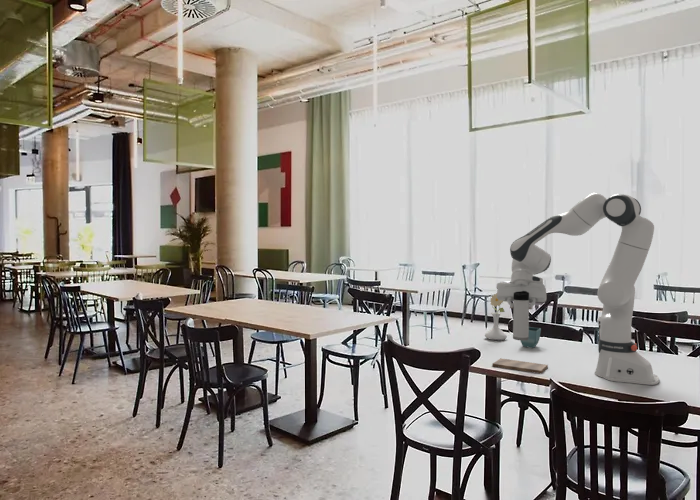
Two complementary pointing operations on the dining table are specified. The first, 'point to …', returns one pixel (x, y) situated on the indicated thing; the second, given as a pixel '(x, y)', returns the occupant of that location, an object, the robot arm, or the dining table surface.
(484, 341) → the dining table surface
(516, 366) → the walnut board
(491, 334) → the flower in vase
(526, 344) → the flower pot
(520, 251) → the robot arm
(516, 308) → the travel mug
